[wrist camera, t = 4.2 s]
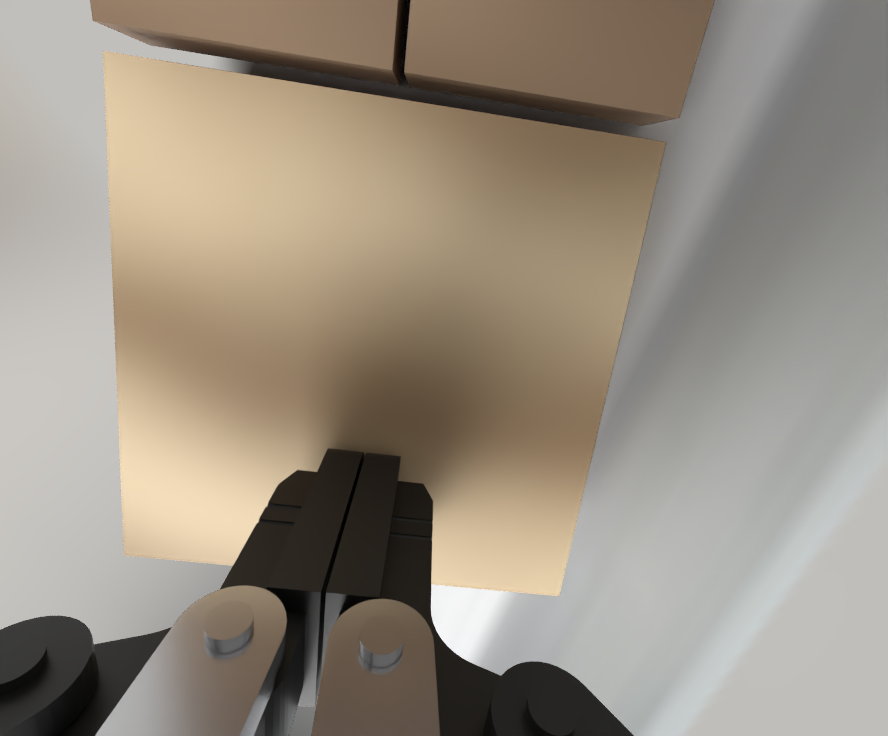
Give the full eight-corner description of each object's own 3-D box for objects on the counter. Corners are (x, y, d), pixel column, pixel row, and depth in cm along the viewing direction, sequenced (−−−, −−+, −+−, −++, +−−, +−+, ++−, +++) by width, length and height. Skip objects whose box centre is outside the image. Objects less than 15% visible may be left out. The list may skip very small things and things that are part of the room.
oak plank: (155, 82, 9) (102, 51, 8) (630, 158, 10) (666, 141, 8) (162, 516, 11) (123, 555, 10) (543, 553, 12) (559, 596, 11)
